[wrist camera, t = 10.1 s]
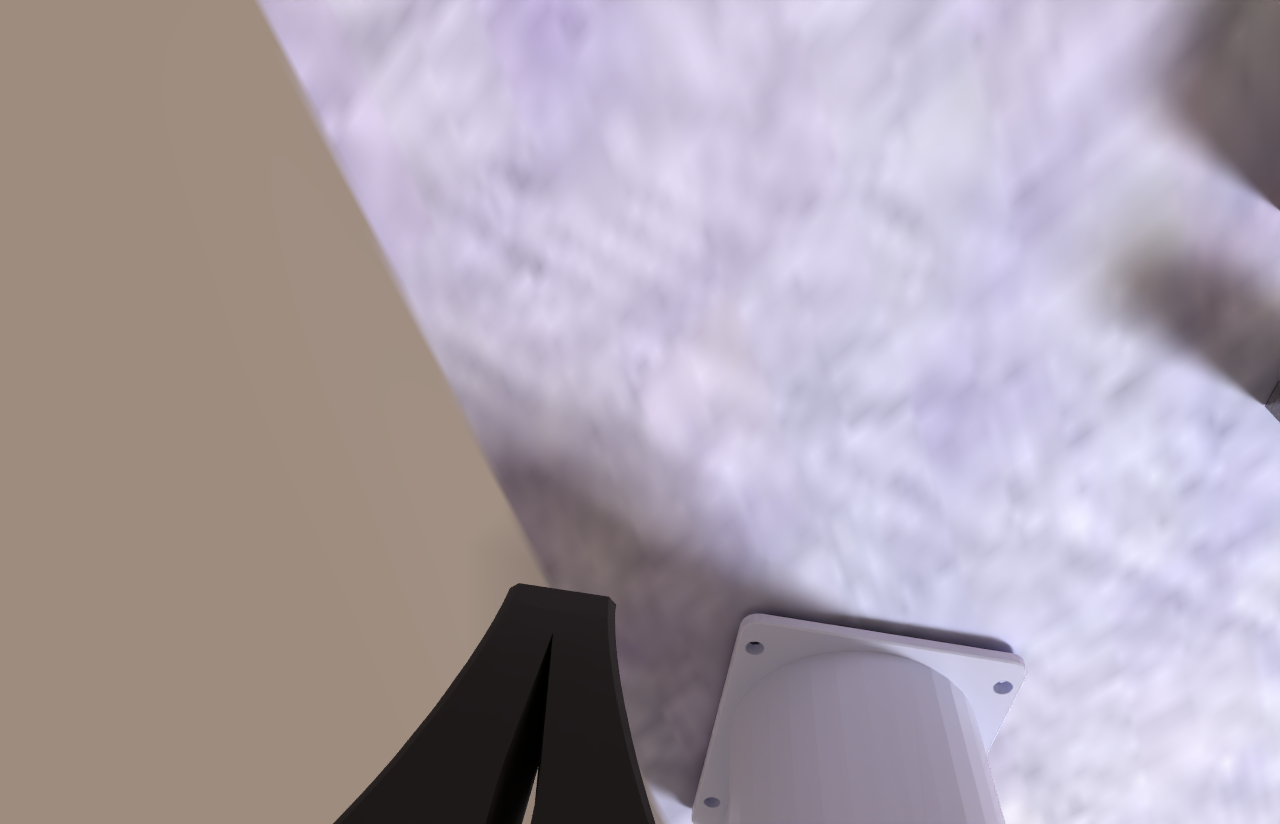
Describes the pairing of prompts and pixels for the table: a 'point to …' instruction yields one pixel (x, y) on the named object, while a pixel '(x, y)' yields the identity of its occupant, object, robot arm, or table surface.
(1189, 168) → the table surface
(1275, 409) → the set of grey posts
